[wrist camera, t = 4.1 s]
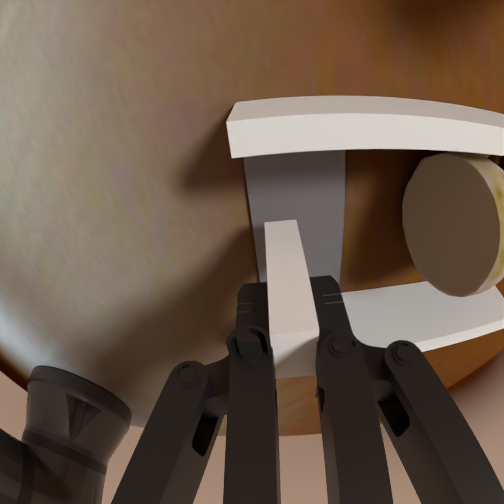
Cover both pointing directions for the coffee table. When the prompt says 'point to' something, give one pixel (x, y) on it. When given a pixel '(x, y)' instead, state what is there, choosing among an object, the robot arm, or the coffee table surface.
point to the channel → (333, 198)
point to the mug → (456, 222)
